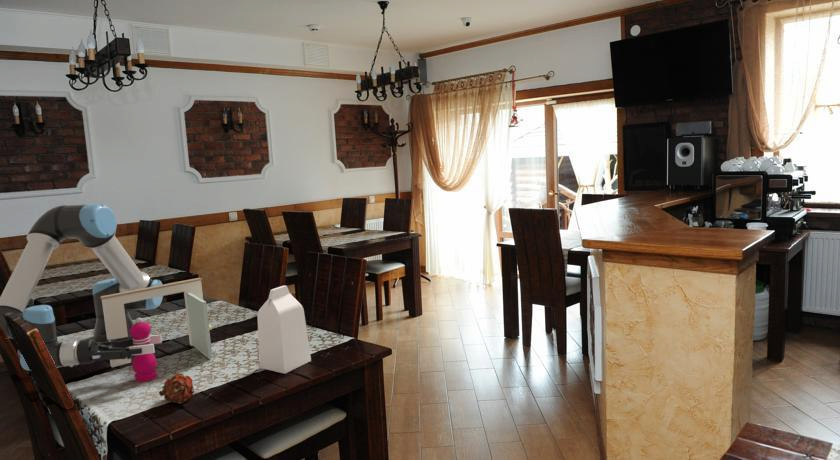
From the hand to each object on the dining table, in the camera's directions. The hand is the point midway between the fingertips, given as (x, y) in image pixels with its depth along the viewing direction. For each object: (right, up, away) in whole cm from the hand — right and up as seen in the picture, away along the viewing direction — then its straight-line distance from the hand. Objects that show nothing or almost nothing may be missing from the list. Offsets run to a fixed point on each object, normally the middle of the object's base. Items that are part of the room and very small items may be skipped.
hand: (157, 343), depth 178 cm
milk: (+40, -8, +6) cm, 41 cm away
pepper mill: (-4, -11, +1) cm, 12 cm away
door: (+6, -7, +22) cm, 24 cm away
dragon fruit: (+15, -13, -18) cm, 26 cm away
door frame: (-10, -8, +24) cm, 27 cm away
